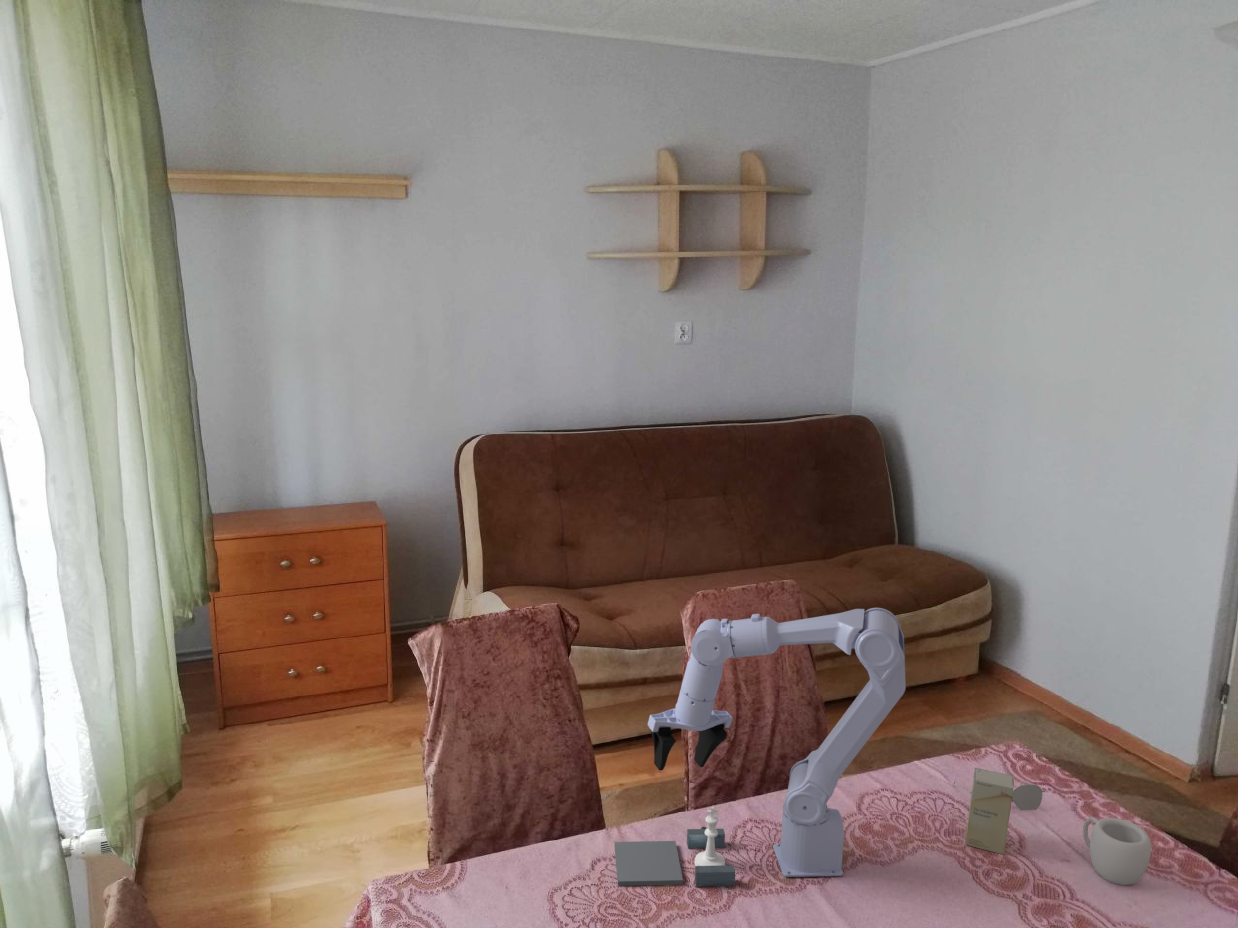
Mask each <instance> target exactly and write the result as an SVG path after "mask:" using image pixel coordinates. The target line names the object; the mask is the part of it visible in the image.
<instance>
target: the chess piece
mask: <svg viewBox="0 0 1238 928" xmlns="http://www.w3.org/2000/svg"><path fill="white" fill-rule="evenodd" d="M718 811H719V810H715V807H714V806H710V809H706V814H707V816H706V817H705V823H706V828H707V829H706V830H705V835H706V836H708V840H707V846H706V848H705V850H703V851H701V852H699V853H697V854H696V855H695V858H694V867H695V866H721V865H726V859H725V858H724V856H723V855H722V854H721V853H719V852H717V851H716V848H715V842H714V837H715V836H717V835H718V831H717V830H716V829H717V828H716V827H717V824H718V822H719V818H718V817H717V816H718V814H719V813H718Z"/></svg>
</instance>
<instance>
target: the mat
mask: <svg viewBox="0 0 1238 928" xmlns="http://www.w3.org/2000/svg"><path fill="white" fill-rule="evenodd" d="M678 852H679V851H678V847H677V842H676V840H653V841H652V840H651V841H649V840H647V841H644V840H643V841H641V840H640V841H614V854H615V855H614V856H615V866H616V880H617V886H618V887H631V886H632V887H637V886H641V887H643V886H678V885H681V886H683V882H684V879H683V874H682V873H683V872H682V869H681V864H680V859H679V853H678Z"/></svg>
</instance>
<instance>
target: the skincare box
mask: <svg viewBox="0 0 1238 928" xmlns="http://www.w3.org/2000/svg"><path fill="white" fill-rule="evenodd" d="M1014 777H1015V776H1014V775H1011V774H1008V773H1001V772H998V771H997V772H996V771H993V770H989V769H982V768H978V767H974V772H973V779H972V788H971V792H972V793H970V795H971V796H970V802H969V803H970V804H969V810H968V816H967V817H968V818H967V825H966V826H967V827H966V832H965V833H966V834H965V845H966V846H969V847H974V848H976V849H981V850H984V851H988V852H993V853H997V854H1001V855H1004V854H1005V853H1006V844H1007V836H1008V830H1009V823H1010V822H1009V821H1010V815H1011V808H1012V803H1013V802H1012V795H1013V790H1014V789H1015V788H1014V785H1015V782H1014V781H1015V778H1014Z"/></svg>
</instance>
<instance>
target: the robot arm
mask: <svg viewBox="0 0 1238 928" xmlns="http://www.w3.org/2000/svg"><path fill="white" fill-rule="evenodd" d="M812 644H813V645H814V644H833V645H835V646H836V647H837V648H839V649H840V650H841V651H842V652H844V653H845V654H846V655H849V656H851V655H852V649H854V650H855V651H854V652H855V654H856V656H857V658H858V660H859V662H860V663H861V664H862V666H863V667H864V668H865V669H866V671H867V674H868V677H869V680H868V681H867V683H866V684H865V686H864V687H863V688H862V689H861V691H860V692H859V694H858V695H857V696H856V697H855V699H854V700H853V702H852V703H851V704H850V705H849V706H848V708H847V709H846V710H845V712H844V714H842V716H841V718H840V719H839V720H838V721H837V723H836V724H835V726H834V727H833V728H832V729H831V731H830V732H829V733H828V735H827V737H826V738H825V739H824V740H823V742H822V743H821V744H820V745H819V747H818V748H817V749H816V750H815V749H814V750H812V751H811V752H810V753H809V754H808V755H807V756H806V758H804V759H801V760H800V761H797V762H796V763H794V764H793V766H792V767H791V769H790V772H789V781H788V786H787V793H786V796H785V798H784V801H783V805H782V819H781V820H782V821H781V835H780V843H773V845H772V846H773V847H772V848H773V850H774V853H775V856H776V858H777V862H778V864H779V867H780V871H781V873H782V875H783V877H785V878H793V877H794V878H797V877H800V878H801V877H802V878H804V877H841V876H844V875H843V874H844V873H843V872H844V871H843V869H842V868H843V854H844V842H845V829H844V822H843V817H842V814H841V813H840V811H839V810H838V809H835V808H832V807H831V808H830V807H828V805H827V804H828V801H829V800H830V799H831V797H832V796H833V794H834V792H835V789H836V788H837V784H838V782H839V780H840V777H841V776H842V775H843V774H844V772H845V771H846V770H847V768H848V767H849V766H850V764H851V763H852V761H853V760H854V759H855V758H856V756H858V754H859V753H860V751H861V750H862V749H863V747H864V746H865V745H866V743H867V742H868V741H869V739H870V738H871V737H872V736H873V735H874V733H875V732H876V730H877V729H878V728H879V726H880V725H881V724H882V723H883V721H884V720H885V719H886V717H887V716H888V715H889V714H890V712H891V711H892V709H893V708H894V707H895V706H896V704H897V703H898V702H899V701H900V699H901V698H902V697H903V695H904V694H905V692H906V689H907V687H906V685H907V684H906V665H905V664H906V661H905V660H906V659H905V637H904V633H903V630H902V628H901V625H900V622H899V621H898V618H897V617H896V615H894V613H893V612H891V611H890V610H888V609H886V608H882V607H872V608H871V607H870V608H868V609H867V610H865V608H854V609H850V610H847V611H844V612H843V611H842V612H839V613H832V614H826V615H822V616H821V615H820V616H814V617H809V618H802V619H801V618H800V619H795V620H791V621H790V620H789V621H784V622H778V621H776V620H775V619H773V618H772V617H770V616H761V614H760V613H753V614H752V615H751V617H750V618H743V619H734V620H729V619H728V618H722V619H721V620H720V619H719V618H718V619H717V618H709V619H706V620H704V621H703V622H701V623H700V625H699V626H698V627H697V629H696V631H695V634H694V636H693V638H692V640H691V644H690V645H691V646H690V650H691V651H690V655H689V660H687V663H686V668H685V671H684V675H683V679H682V682H681V687H680V690H679V694H678V698H677V702H676V703H675V707H674V708H671V709H667V710H665V711H662V712H659V713H654V714H649V717H648V721H647V727H648V728H649V730H650V732H651V736H652V742H653V751H654V753H653V754H654V757H653V760H654V761H653V764H654V766H655V767H656V769H658V771H664V769H665V767H666V763H667V761H668V757H669V753H670V751H671V749H672V748H673V746H674V745H675V743H676V742H677V740H676V739H675V738H674V736H673V735H672V734H673V732H672V729H679V730H680V729H681V730H685V731H687V730H688V731H695V732H699V733H698V740H697V745H696V748H695V752H694V758H693V759H694V762H695V763H696V764H697V765H698V766H699V768H704V766H705V765H706V764H707V761H708V760H709V758H710V756H711V755H712V754H713V752H714V751H715V750H716V749H717V748H718V746H720V745H721V744H722V743H723V742H724V741H725V740H727V737H728V732H727V730H725V729H726V728H727V729H729V728H731V724H732V722H733V716H732V715H731V714H730V713H729V712H728V711H727V710H717V709H714V706H715V701H716V698H717V694H718V691H719V688H720V687H719V686H720V684H721V681H722V676H723V673H724V672H723V671H724V670H723V666H724V663H725V661H726V660H727V659H730V658H731V659H732V658H733V659H736V658H743V657H744V658H745V657H756V656H766V655H773V654H775V652H776V651H777V650H778V649H779V647H780V646H791V645H792V646H795V645H812Z"/></svg>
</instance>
